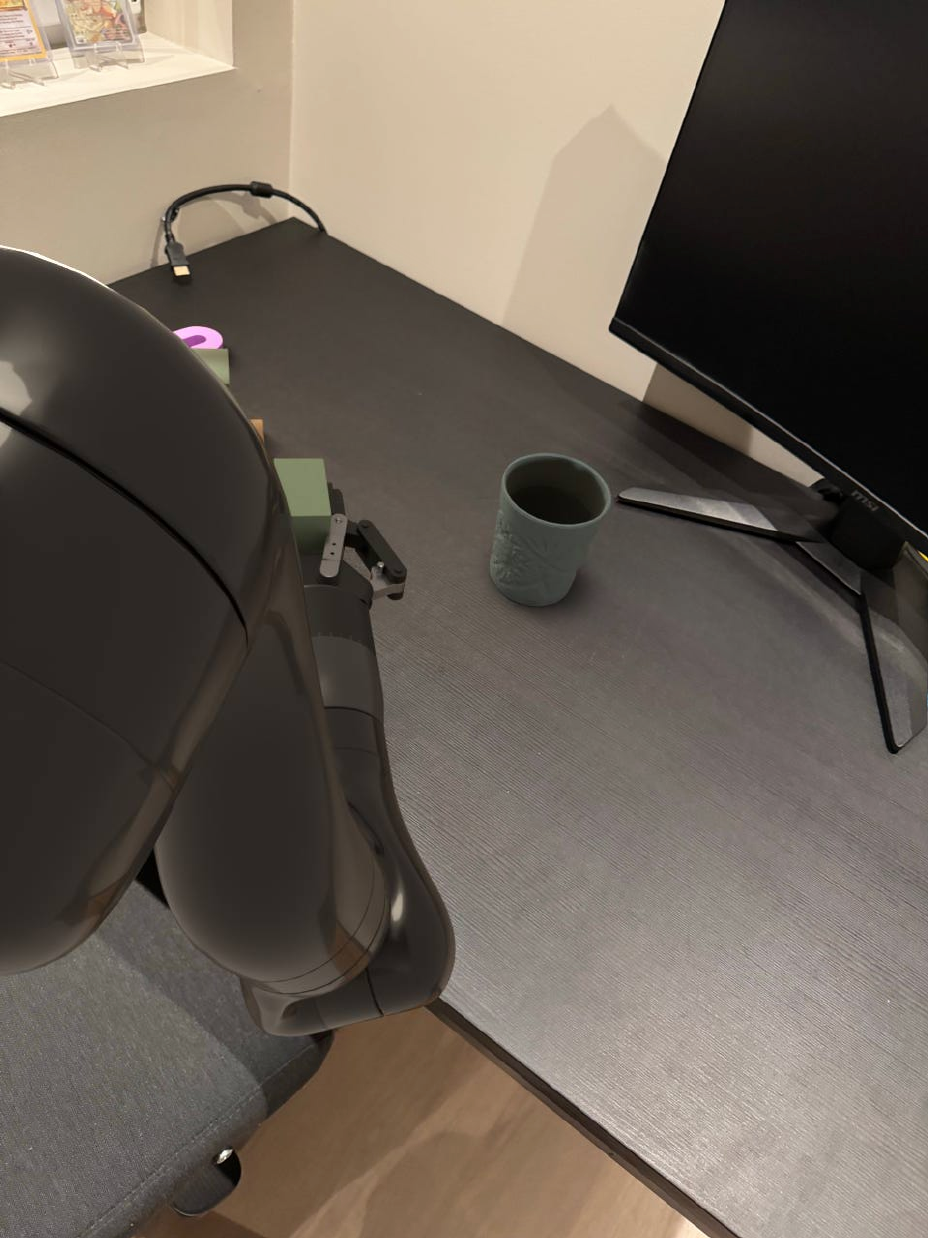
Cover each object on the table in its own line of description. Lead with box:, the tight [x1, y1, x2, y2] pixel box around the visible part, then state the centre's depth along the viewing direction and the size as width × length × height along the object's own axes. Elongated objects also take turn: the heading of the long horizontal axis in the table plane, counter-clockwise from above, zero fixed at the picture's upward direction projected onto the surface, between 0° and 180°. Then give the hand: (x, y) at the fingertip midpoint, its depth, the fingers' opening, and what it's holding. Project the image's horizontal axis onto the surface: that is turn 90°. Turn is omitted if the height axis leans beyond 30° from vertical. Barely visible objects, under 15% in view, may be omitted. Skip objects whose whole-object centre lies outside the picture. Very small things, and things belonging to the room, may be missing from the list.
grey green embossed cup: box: [489, 452, 612, 607], centre depth 81 cm, size 10×10×12 cm
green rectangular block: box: [273, 458, 331, 552], centre depth 62 cm, size 6×4×9 cm, turn 11°
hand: (297, 491), depth 62 cm, fingers closed on green rectangular block, 3 cm apart
